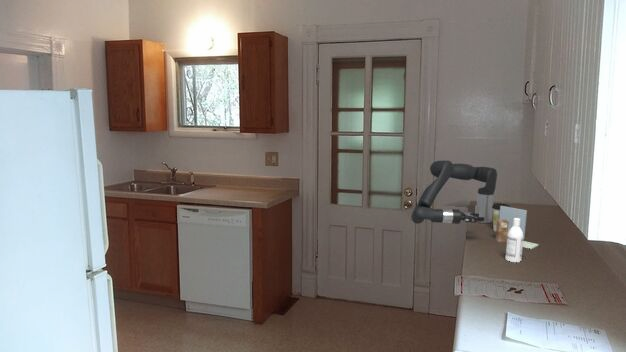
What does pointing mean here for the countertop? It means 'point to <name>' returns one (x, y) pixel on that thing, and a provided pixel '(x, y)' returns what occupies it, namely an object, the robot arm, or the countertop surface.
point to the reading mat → (529, 245)
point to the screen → (512, 213)
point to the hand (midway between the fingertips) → (481, 217)
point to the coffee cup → (497, 213)
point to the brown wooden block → (501, 231)
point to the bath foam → (514, 242)
